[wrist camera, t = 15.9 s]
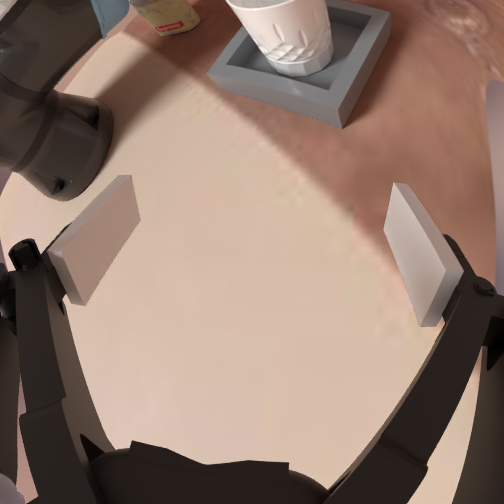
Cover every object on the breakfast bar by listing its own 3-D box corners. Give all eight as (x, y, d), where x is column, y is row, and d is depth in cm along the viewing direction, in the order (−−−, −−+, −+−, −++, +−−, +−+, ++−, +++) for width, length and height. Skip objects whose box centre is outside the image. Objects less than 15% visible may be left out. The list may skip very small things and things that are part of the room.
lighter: (156, 38, 37) (116, -1, 27) (165, 21, 37) (128, -18, 28) (196, 30, 34) (157, -17, 25) (205, 13, 34) (169, -34, 25)
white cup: (277, 28, 29) (243, -36, 19) (346, 32, 26) (327, -41, 16) (254, 78, 29) (210, 13, 19) (330, 87, 26) (306, 9, 16)
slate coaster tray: (223, 93, 31) (206, 73, 28) (281, 13, 31) (271, -9, 27) (342, 132, 26) (337, 109, 23) (391, 37, 25) (390, 12, 22)
